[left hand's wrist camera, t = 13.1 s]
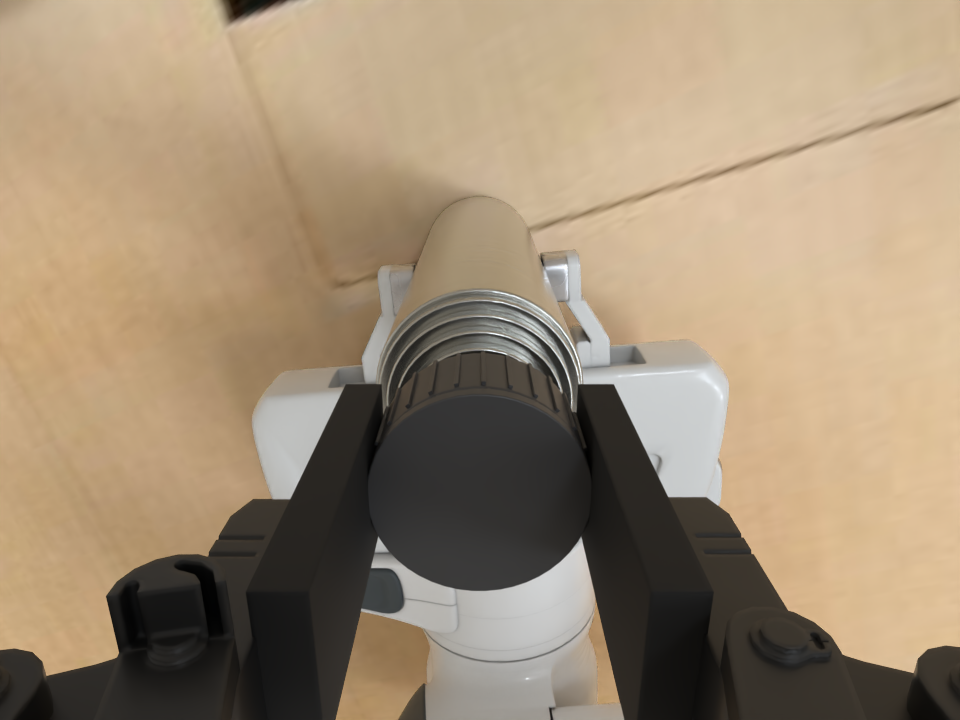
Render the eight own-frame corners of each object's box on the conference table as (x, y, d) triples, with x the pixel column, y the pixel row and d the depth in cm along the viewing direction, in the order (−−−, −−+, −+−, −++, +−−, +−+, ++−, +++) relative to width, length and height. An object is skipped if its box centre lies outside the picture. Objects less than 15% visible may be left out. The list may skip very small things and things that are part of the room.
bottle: (475, 173, 33) (467, 296, 12) (553, 245, 34) (678, 477, 13) (405, 253, 34) (282, 497, 13) (483, 320, 36) (489, 643, 14)
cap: (470, 306, 14) (469, 342, 11) (622, 436, 15) (645, 491, 12) (338, 450, 15) (315, 506, 13) (487, 561, 16) (488, 630, 14)
